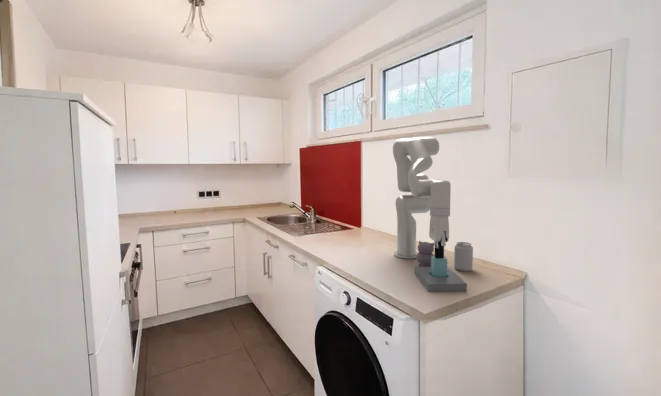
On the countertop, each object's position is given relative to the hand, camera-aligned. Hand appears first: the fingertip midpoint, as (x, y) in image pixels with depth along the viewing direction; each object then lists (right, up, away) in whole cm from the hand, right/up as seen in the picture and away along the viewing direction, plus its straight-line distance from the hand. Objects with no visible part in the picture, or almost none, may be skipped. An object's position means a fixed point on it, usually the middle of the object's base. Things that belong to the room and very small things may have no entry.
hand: (439, 257), depth 125 cm
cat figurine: (0, -8, +19) cm, 21 cm away
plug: (0, -10, +1) cm, 10 cm away
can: (+16, -9, +16) cm, 24 cm away
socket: (0, -10, +1) cm, 10 cm away
